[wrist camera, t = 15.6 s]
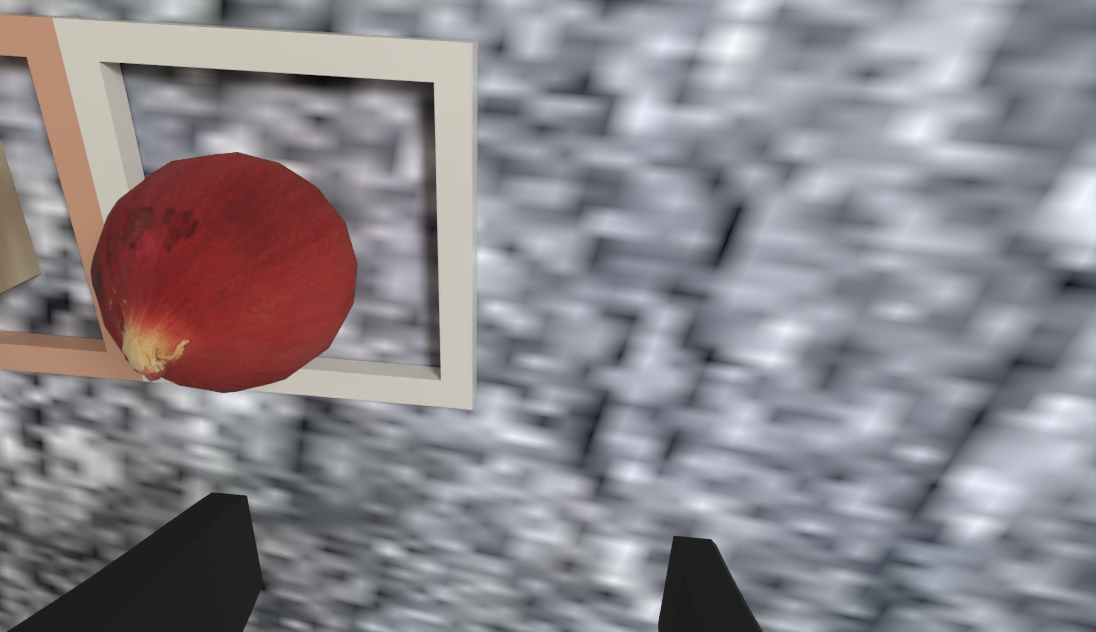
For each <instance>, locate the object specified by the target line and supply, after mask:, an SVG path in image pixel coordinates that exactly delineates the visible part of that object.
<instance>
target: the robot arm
mask: <svg viewBox="0 0 1096 632" xmlns="http://www.w3.org/2000/svg"><path fill="white" fill-rule="evenodd" d="M262 586H263V579H262V574H261V569H260V563H259V558H258V553H257V547H256V542H255V537H254V531H253V526H252V521H251V515H250V510H249V505H248V500H247V496H245V495H234V494H224V493H213V492H212V493H210V494H209V495H207V496H206V497H204V498H203V499H201V500H200V501H198V502H197V503H195V504H194V505H193V506H191V507H190V508H188V509H187V510H185V511H184V512H183V513H181V514H180V515H178V516H177V517H175V518H174V519H173V520H171V521H170V522H168V523H167V524H166V525H164V526H163V527H161V528H160V529H159V530H157V531H156V532H154V533H153V534H152V535H150V536H149V537H147V538H146V539H145V540H143V541H142V542H140V543H139V544H138V545H136V546H135V547H133V548H132V549H130V550H129V551H128V552H126V553H125V554H123V555H122V556H120V557H119V558H118V559H116V560H115V561H113V562H112V563H110V564H109V565H107V566H106V567H105V568H103V569H102V570H100V571H99V572H97V573H96V574H95V575H93V576H92V577H90V578H89V579H87V580H86V581H84V582H83V583H81V584H80V585H78V586H77V587H75V588H74V589H72V590H71V591H69V592H68V593H66V594H64V595H63V596H61V597H60V598H58V599H57V600H55V601H54V602H52V603H51V604H49V605H48V606H46V607H44V608H43V609H41V610H40V611H38V612H37V613H35V614H34V615H32V616H31V617H29V618H28V619H26V620H24V621H23V622H21V623H20V624H18V625H17V626H15V627H14V628H12V629H11V630H9V631H7V632H243V630H244V628H245V626H246V623H247V621H248V619H249V617H250V614H251V612H252V610H253V607H254V605H255V602H256V600H257V598H258V595H259V593H260V590H261V588H262ZM658 630H659V632H763V631H762V629H761V628H760V626H759V624H758V623H757V621H756V619H755V617H754V616H753V614H752V612H751V610H750V609H749V607H748V605H747V603H746V601H745V600H744V598H743V596H742V594H741V592H740V591H739V589H738V587H737V585H736V583H735V581H734V579H733V578H732V576H731V574H730V572H729V570H728V568H727V566H726V564H725V562H724V560H723V558H722V556H721V554H720V552H719V550H718V547H717V545H716V544H715V543H714V542H713V541H712V540H711V539H702V538H692V537H681V536H673V542H672V548H671V554H670V559H669V565H668V571H667V576H666V582H665V588H664V593H663V599H662V605H661V611H660V616H659V622H658Z"/></svg>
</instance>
